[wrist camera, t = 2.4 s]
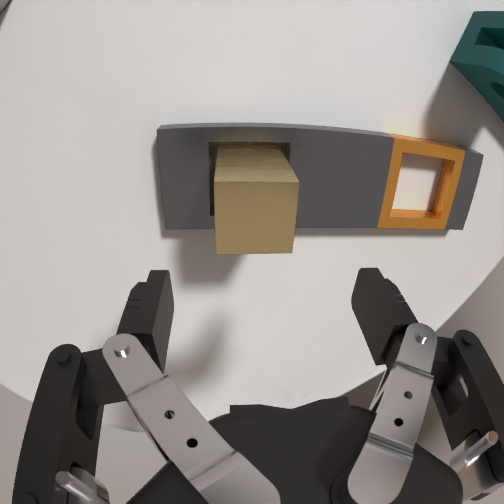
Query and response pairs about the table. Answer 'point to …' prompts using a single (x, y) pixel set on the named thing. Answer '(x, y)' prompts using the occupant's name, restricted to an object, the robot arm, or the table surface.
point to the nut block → (254, 200)
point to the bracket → (484, 56)
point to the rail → (319, 175)
